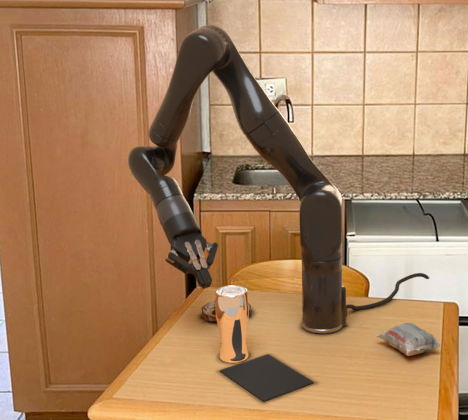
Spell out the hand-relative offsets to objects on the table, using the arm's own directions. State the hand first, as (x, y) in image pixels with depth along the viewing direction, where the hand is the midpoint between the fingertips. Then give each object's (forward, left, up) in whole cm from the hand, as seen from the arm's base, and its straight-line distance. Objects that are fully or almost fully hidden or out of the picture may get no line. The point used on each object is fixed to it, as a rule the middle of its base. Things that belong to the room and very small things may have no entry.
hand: (207, 286), depth 176 cm
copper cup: (-2, +10, -13) cm, 16 cm away
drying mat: (-4, +22, -13) cm, 25 cm away
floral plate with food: (-9, -12, -13) cm, 20 cm away
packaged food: (-36, +25, -13) cm, 45 cm away
